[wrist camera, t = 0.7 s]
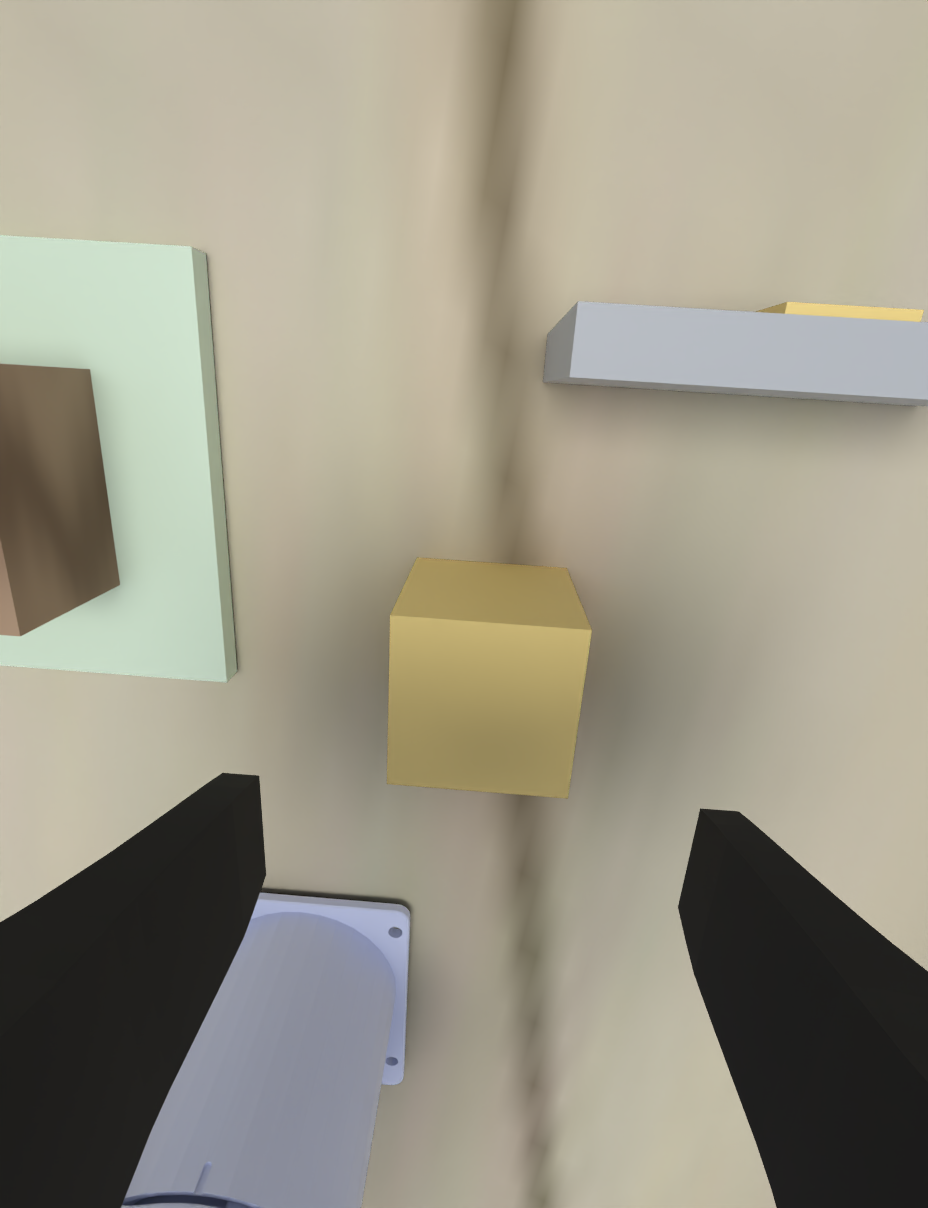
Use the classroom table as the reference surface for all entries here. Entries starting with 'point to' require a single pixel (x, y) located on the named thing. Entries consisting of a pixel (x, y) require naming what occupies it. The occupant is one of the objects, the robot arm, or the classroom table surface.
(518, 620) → the brick
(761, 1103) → the robot arm
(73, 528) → the base block
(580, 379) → the tile
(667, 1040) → the classroom table surface
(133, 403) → the build plate
